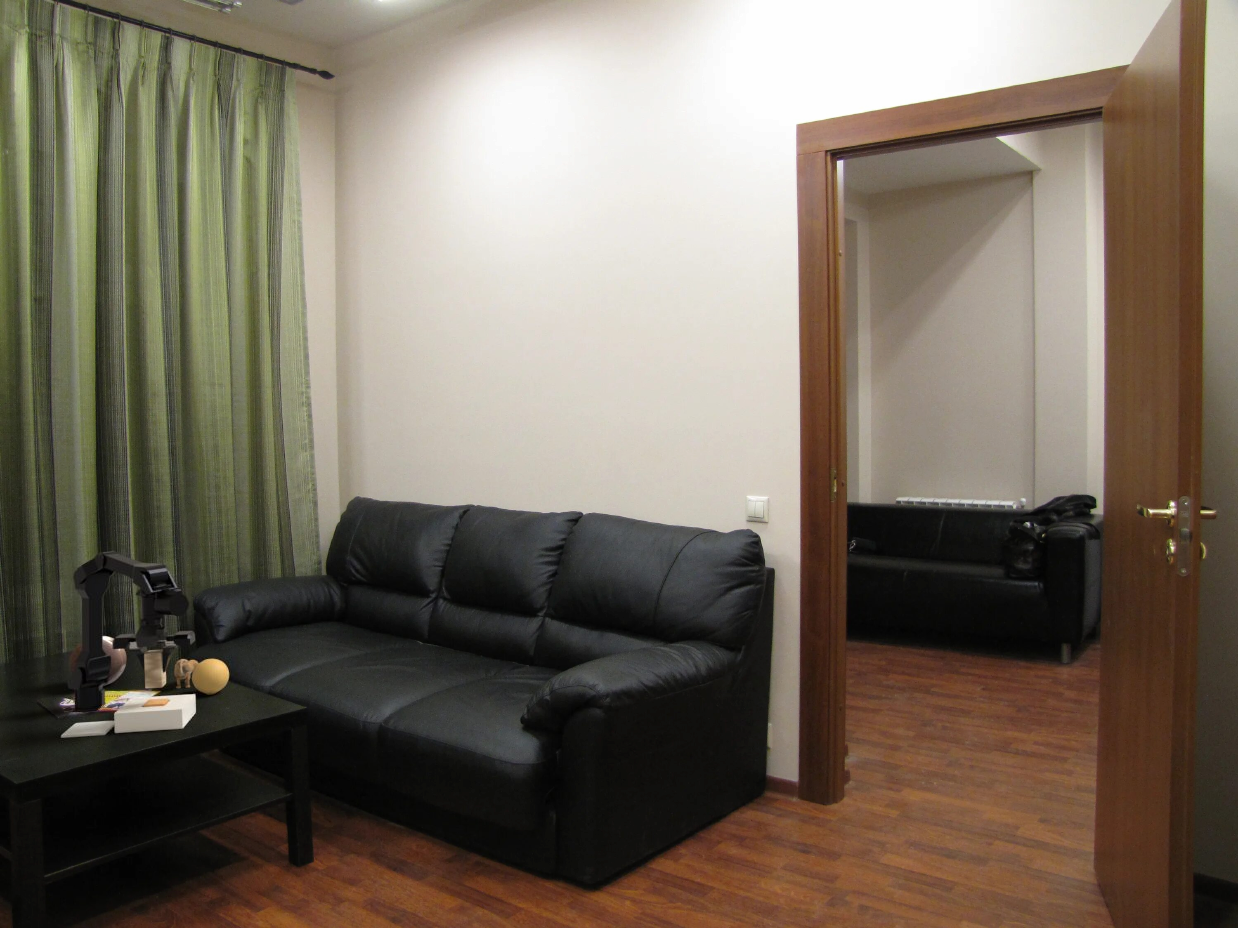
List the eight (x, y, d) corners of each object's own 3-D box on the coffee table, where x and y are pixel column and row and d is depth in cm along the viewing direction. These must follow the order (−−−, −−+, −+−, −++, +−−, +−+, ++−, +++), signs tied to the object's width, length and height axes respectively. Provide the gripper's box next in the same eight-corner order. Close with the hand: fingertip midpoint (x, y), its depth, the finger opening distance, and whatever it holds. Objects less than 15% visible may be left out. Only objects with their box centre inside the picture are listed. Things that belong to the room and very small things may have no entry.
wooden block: (145, 688, 244) (144, 653, 244) (149, 684, 248) (148, 650, 248) (161, 687, 245) (160, 652, 245) (166, 683, 249) (165, 649, 249)
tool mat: (61, 737, 235) (61, 735, 235) (75, 725, 245) (75, 722, 245) (104, 734, 237) (104, 732, 237) (117, 722, 247) (117, 720, 247)
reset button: (143, 716, 244) (143, 704, 244) (149, 710, 249) (148, 699, 249) (163, 714, 245) (163, 703, 245) (168, 709, 250) (168, 698, 250)
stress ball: (225, 699, 271) (242, 670, 278) (203, 678, 266) (221, 650, 273) (200, 701, 275) (217, 672, 282) (178, 681, 269) (196, 652, 277)
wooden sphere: (124, 689, 279) (122, 639, 278) (65, 695, 273) (64, 643, 273) (129, 677, 293) (128, 629, 292) (74, 682, 287) (73, 633, 286)
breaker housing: (114, 732, 239) (114, 713, 238) (131, 716, 252) (131, 697, 252) (182, 728, 242) (182, 708, 242) (195, 712, 255) (195, 693, 255)
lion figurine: (190, 690, 277) (189, 660, 277) (171, 691, 276) (170, 661, 276) (204, 677, 292) (203, 648, 291) (186, 678, 291) (185, 649, 290)
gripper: (104, 621, 236) (106, 682, 237) (184, 617, 240) (185, 678, 241) (118, 612, 247) (120, 671, 248) (194, 609, 251) (196, 667, 252)
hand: (155, 672), depth 247 cm, fingers closed on wooden block, 4 cm apart
